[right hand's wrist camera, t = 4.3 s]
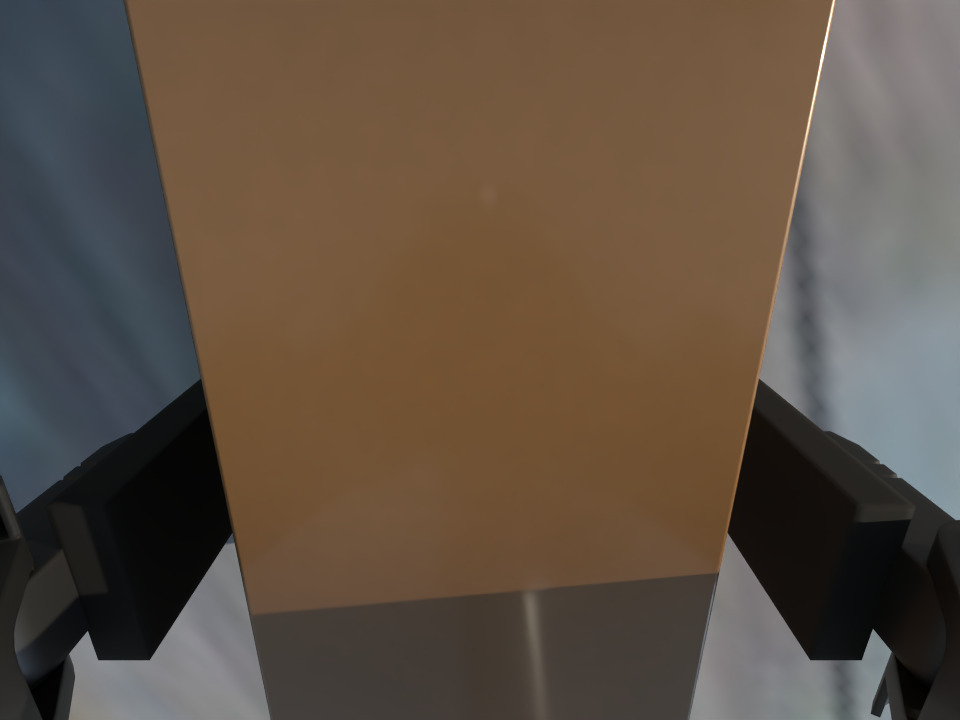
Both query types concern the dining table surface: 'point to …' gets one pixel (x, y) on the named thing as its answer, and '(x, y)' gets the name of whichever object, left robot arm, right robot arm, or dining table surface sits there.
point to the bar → (479, 328)
